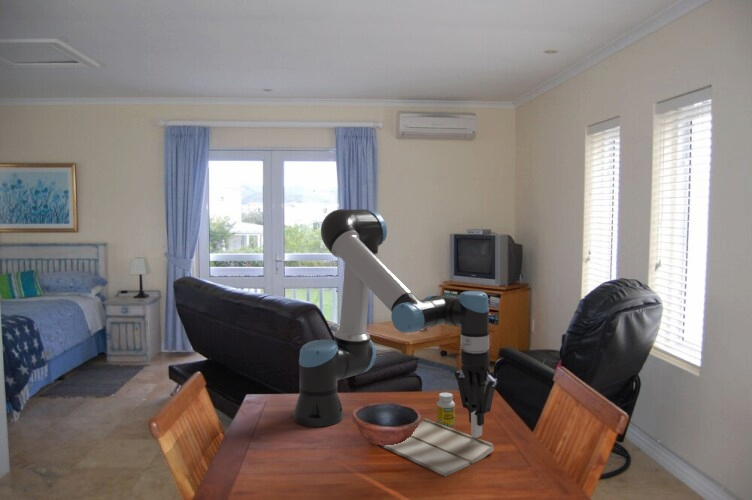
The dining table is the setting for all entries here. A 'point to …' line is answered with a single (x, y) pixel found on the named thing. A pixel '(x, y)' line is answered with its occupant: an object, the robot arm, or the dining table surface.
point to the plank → (452, 441)
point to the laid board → (428, 456)
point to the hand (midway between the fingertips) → (476, 435)
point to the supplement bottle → (446, 410)
